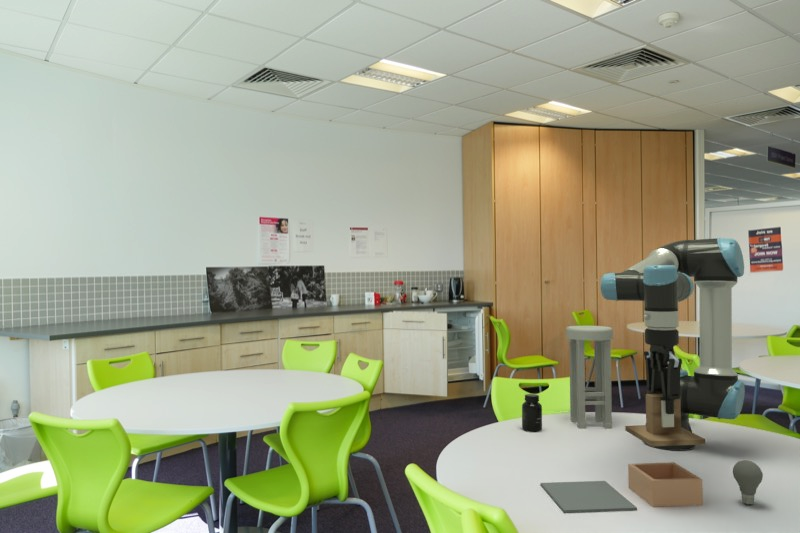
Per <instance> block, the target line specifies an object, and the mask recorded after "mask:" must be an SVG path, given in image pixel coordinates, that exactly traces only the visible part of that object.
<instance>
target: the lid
mask: <svg viewBox="0 0 800 533" xmlns="http://www.w3.org/2000/svg"><path fill="white" fill-rule="evenodd" d="M660 398H663V394H647V393H646V394H645V420H646V421H645V424H640V425H639V424H638V425H636V424H635V425H625V426H624V427H625V429H624V430H625V432H628V434H631V435H632V436H633V437H635V438H637V439H638V440H641V441H642V442H643V443H644V442H645V443H647V444H648V445H647V444H646V445H647V446H649V445H650V447H652V446H676V445H695V446H696V445H706V438H704V437H702V436H700V435H698V434H696V433H694V432H693V431H692V432H690V431H688V430H686V429H684V428H682V427H681V402H680V399H676V400H674V427H662V420H661V399H660ZM645 443H644V444H645Z"/></svg>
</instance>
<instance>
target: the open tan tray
mask: <svg viewBox="0 0 800 533" xmlns="http://www.w3.org/2000/svg"><path fill="white" fill-rule="evenodd" d="M627 472H628V474H627V475H628V476H627V477H628V479H627V481H628V482H627V483H628V484H627V486H628V487H627V488H628V489H629V490H631V491H632V492H633V493H635V494H636V495H637V496H638V497H640V498H641V499H642V500H643V501H645V502H646V503H647V504H648V505H649V506H651V507H652V508H660V507H661V508H663V507H687V506H688V507H691V506H690V505H696V506H703V505H704V504H703V503H704V502H703V499H704V495H703V494H704V493H703V491H704V490H703V479H702V478H700V477H699V476H698V475H696V474H694V473H693V472H691V471H689V470H687V469H686V468H684V467H683V466H681V465H679V464H677V463H676V462H642V463H627Z"/></svg>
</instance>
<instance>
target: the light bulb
mask: <svg viewBox="0 0 800 533" xmlns="http://www.w3.org/2000/svg"><path fill="white" fill-rule="evenodd" d="M732 475H733V478H734V479H735V482H736V483H737V484H738V488H739V491H740V492H741V502H742V503H744V504H745V503H746V505H749V504H751V505H754V504H755V495H756V493H757V489H758V487H759V486H760V484H761V483H762V482H763V478H764V476H763V475H764V474H763V471H762V469H761V467H760V466H759V465H758V464H757V463H755V462H754V461H751V460H747V459H742V460H739V461H737V462H735V464H734V466H733V467H732Z"/></svg>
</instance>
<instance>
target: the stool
mask: <svg viewBox="0 0 800 533" xmlns="http://www.w3.org/2000/svg"><path fill="white" fill-rule="evenodd" d="M565 333H566V334H565V336H566V337H565V338H566V339H569V340H568V341H569V342H568V343H569V345H568V346H569V404H570V405H569V407H570V408H569V410H570V411H569V412H570V417H569V418H570V422H572V423H577V424H576V425H577V428H578V429H581V430H582V429H586V405H587V406H588V405H589V406H594V408H595V409H594V416H595V419H594V420H595V422H597V423H603V424H602V426H603V428H604V429H607V430H608V429H609V430H610V429H611V430H612V429H613V421H612V419H613V417H612V416H613V411H612V355H611V354H612V353H611V351H612V349H611V346H612V345H611V343H612V342H611V341H612V340H613V339H614V330H613V328H612V327H610V326H605V325H569V326H566V329H565ZM585 341H590V342H591V341H594V342H593V343H594V344H593V345H594V346H593V349H594V354H593V355H594V387H593V386H586V379H585V378H586V371H585V369H586V367H585V366H586V364H585V359H586V358H585Z"/></svg>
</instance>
